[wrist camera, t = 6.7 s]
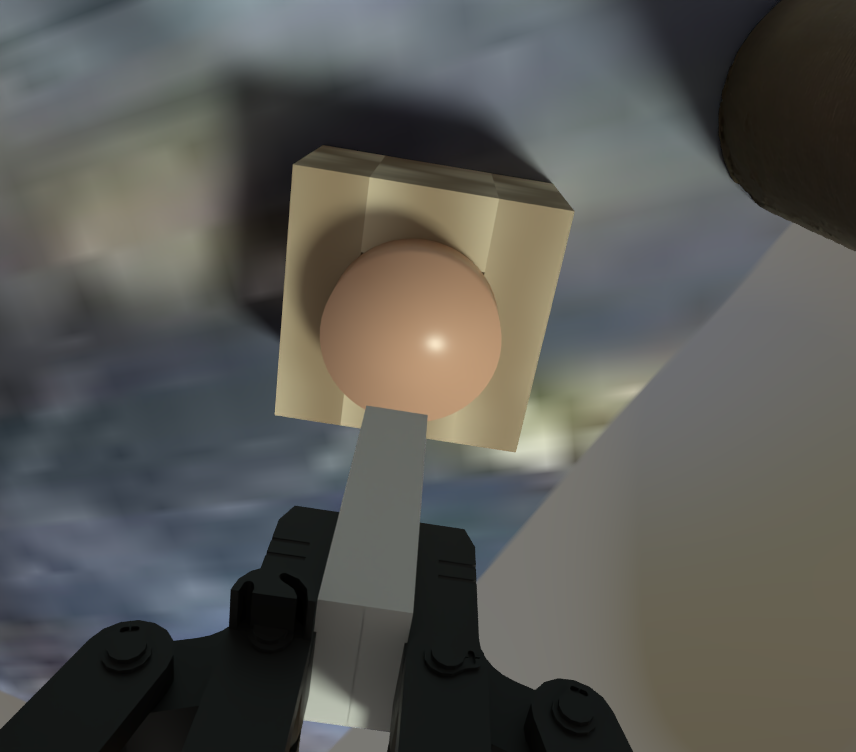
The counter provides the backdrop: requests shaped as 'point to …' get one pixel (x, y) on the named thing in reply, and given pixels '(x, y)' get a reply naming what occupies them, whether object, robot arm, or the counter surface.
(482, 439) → the housing
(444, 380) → the knob
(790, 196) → the pillar candle
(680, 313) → the counter surface
